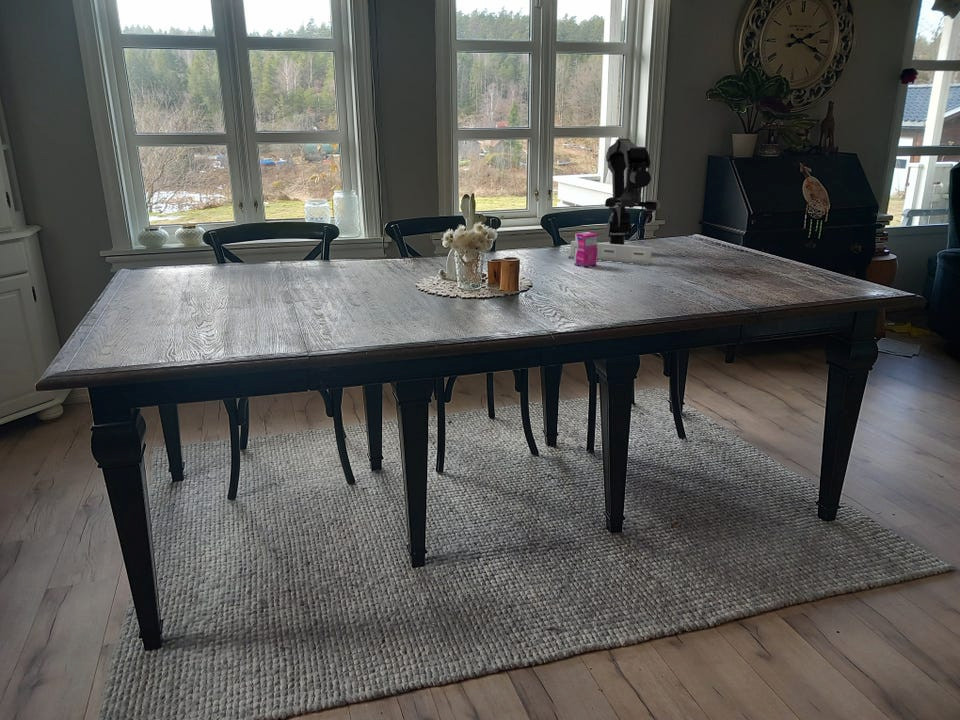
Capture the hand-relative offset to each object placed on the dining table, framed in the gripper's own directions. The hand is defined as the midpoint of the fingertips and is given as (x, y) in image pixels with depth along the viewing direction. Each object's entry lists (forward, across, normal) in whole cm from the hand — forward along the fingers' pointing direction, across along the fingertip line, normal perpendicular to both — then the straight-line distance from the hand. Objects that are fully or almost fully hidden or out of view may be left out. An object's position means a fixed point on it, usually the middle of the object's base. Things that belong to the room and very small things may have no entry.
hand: (630, 227), depth 261 cm
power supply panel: (+12, -6, -3) cm, 14 cm away
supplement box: (+12, -11, -16) cm, 23 cm away
